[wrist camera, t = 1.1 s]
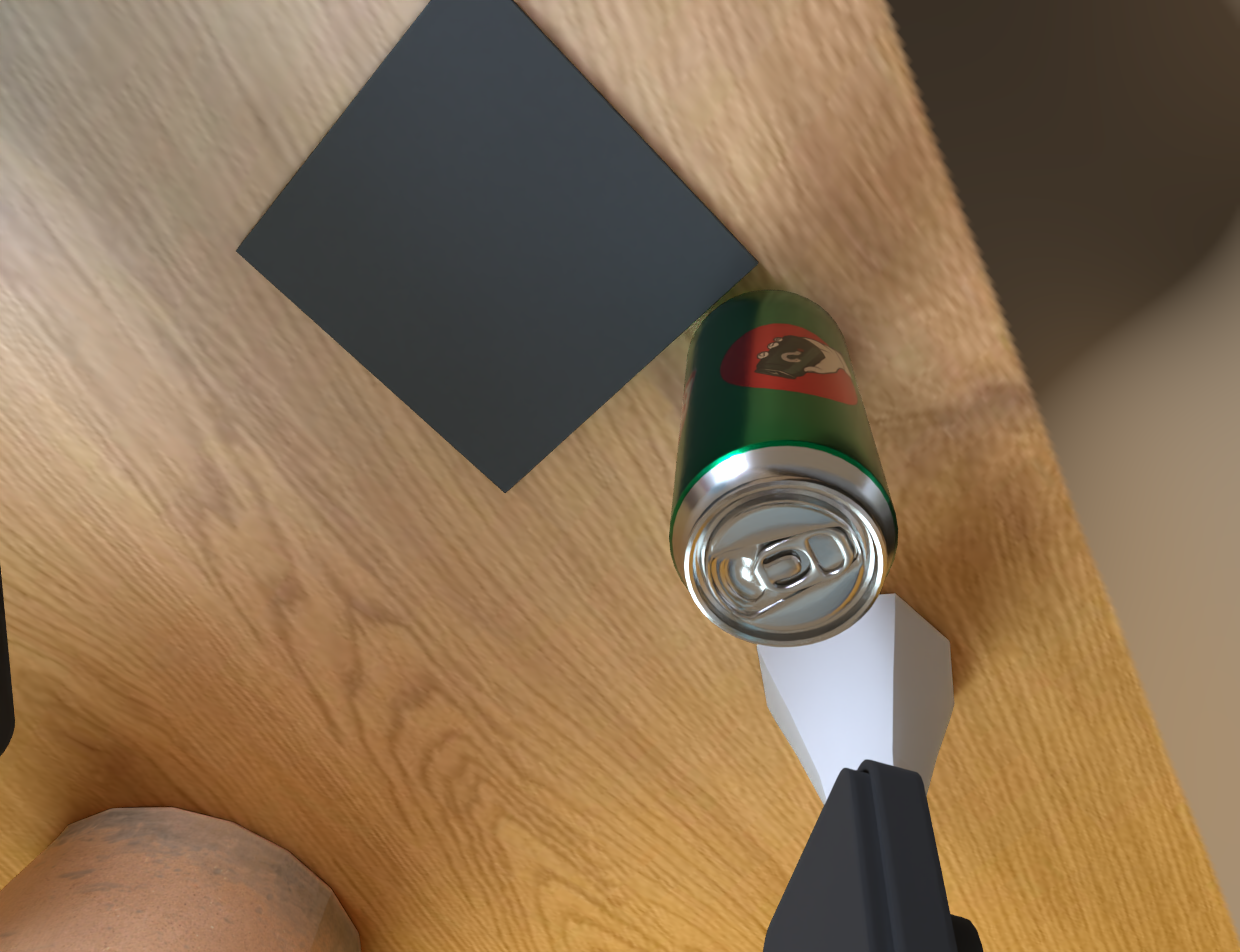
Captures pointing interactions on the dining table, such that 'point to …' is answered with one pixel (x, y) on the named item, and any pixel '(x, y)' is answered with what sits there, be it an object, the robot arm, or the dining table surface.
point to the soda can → (778, 476)
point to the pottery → (169, 891)
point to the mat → (493, 237)
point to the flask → (864, 694)
